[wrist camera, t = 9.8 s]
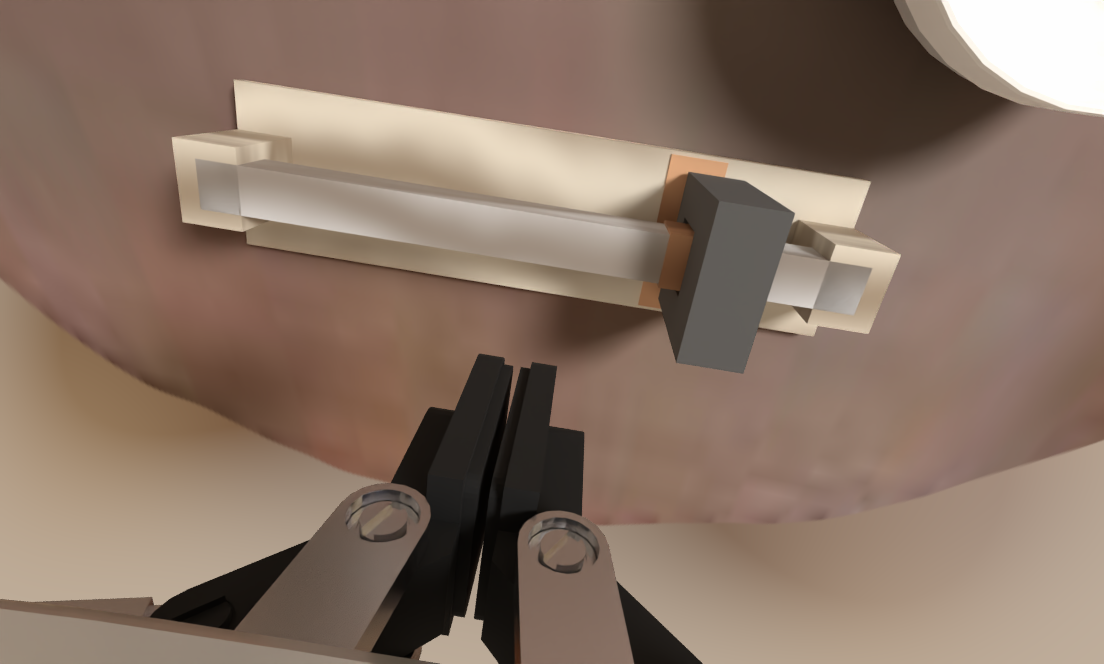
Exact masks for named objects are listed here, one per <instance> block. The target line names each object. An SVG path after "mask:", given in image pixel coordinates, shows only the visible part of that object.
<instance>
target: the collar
mask: <svg viewBox="0 0 1104 664" xmlns="http://www.w3.org/2000/svg"><path fill="white" fill-rule="evenodd" d="M794 216H795V213H794V212H793V211H791V210H790V209H788V208H786V207H785V206H783V205H782V204H780V203H779V202H777V201H776V200H774V199H773V198H771V197H769V196H768V195H766V194H765V193H763V192H762V191H760V190H759V189H757V188H756V187H754V186H752V185H751V184H749V183H748V182H746V181H744V180H737V179H731V178H725V177H719V176H712V175H706V174H700V173H694V172H688V176H687V180H686V184H685V188H684V193H683V197H682V201H681V205H680V209H679V214H678V218H677V222H679V223H686V224H689V225H690V226H691V228H692V229H693V231H694V232H695V233H694V237H693V241H692V245H691V249H690V253H689V257H688V261H687V265H686V269H685V272H684V276H683V280H682V284H681V288H680V291H676V290H670V289H663V288H661V289H660V293H659V297H658V300H659V303H660V307H661V310H662V314H663V317H664V321H665V324H666V328H667V331H668V335H669V339H670V342H671V346H672V349H673V353H674V356H675V360H676V363H682V364H688V365H694V366H700V367H706V368H712V369H718V370H724V371H730V372H736V373H742V374H743V373H744V370H745V367H746V364H747V360H748V357H749V354H750V351H751V348H752V345H753V342H754V339H755V336H756V333H757V330H758V327H759V323H760V320H761V317H762V314H763V311H764V308H765V305H766V302H767V299H768V296H769V293H770V290H771V287H772V283H773V280H774V277H775V274H776V271H777V268H778V265H779V262H780V259H781V256H782V253H783V250H784V247H785V243H786V240H787V237H788V234H789V231H790V228H791V225H792V222H793V219H794Z"/></svg>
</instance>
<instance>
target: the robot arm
mask: <svg viewBox="0 0 1104 664" xmlns="http://www.w3.org/2000/svg"><path fill="white" fill-rule="evenodd" d="M504 362H505V358H503V357H497V356H490V355H484V354H479V355H478V357H477V359H476V361H475V364H474V366H473V368H472V371H471V373H470V376H469V378H468V380H467V383H466V385H465V387H464V390H463V392H462V395H461V397H460V399H459V402H458V404H457V406H456V409H455V411H453V410H447V409H441V408H435V407H430V408H429V409H428V411H427V412H426V414H425V416H424V418H423V420H422V422H421V424H420V426H419V428H418V430H417V432H416V434H415V436H414V438H413V440H412V442H411V444H410V446H409V448H408V450H407V452H406V454H405V456H404V458H403V460H402V462H401V464H400V466H399V468H398V470H397V472H396V474H395V476H394V478H393V480H392V482H391V483H385V484H375V485H371V486H368V487H364V488H362V489H360V490H358V491H356V492H354V493H352V494H350V495H349V496H348V497H347V498H346V499H345V500H344V501H342V502H341V504H340V505H339V506H338V507H337V508H336V510H335V511H334V512H333V513H332V514H331V516H330V517H329V518H328V519H327V520H326V521H325V523H324V524H323V525H322V526H321V527H320V528H319V530H318V531H317V532H316V533H315V534H314V536H313V537H312V538H311V539H310V540H308V541H306V542H303V543H301V544H298V545H296V546H294V547H291V548H288V549H286V550H284V551H281V552H279V553H276V554H274V555H271V556H269V557H266V558H264V559H261V560H259V561H257V562H254V563H252V564H249V565H247V566H244V567H242V568H239V569H237V570H235V571H232V572H230V573H227V574H225V575H222V576H220V577H217V578H215V579H212V580H210V581H207V582H205V583H203V584H200V585H198V586H195V587H193V588H190V589H188V590H186V591H185V592H182V593H180V594H179V595H176V596H174V597H172V598H171V599H169V600H168V601H167V602H165V603H164V604H163V605H154V603H153V599H152V597H145V598H121V599H98V600H97V599H96V600H71V601H46V602H24V601H14V600H5V599H0V664H438V663H432V662H426V661H420V660H419V658H420V655H421V651H422V646H423V645H424V644H426V643H427V642H429V641H431V640H432V639H434V638H436V637H438V636H439V635H441V634H442V635H447V636H448V635H449V632H450V628H451V624H452V621H453V617H454V616H459V617H465V614H466V611H467V606H468V603H469V599H470V594H471V590H472V586H473V582H474V578H475V574H476V569H477V566H478V561H479V557H480V553H481V549H482V545H483V550H482V558H481V566H480V574H479V583H478V590H477V598H476V606H475V614H474V619H477V620H483V629H482V637H481V640H482V641H483V643H484V644H485V645H486V647H487V648H488V649H489V651H490V652H491V653H492V655H493V656H494V657H495V659H496V660H497V662H498V664H702V662H701V661H699V660H698V659H697V658H696V657H695V656H694V655H693V654H692V653H691V652H690V651H689V650H688V649H687V648H686V647H685V646H684V645H683V644H682V643H681V642H680V641H679V640H677V638H675V637H674V636H673V635H672V634H671V633H670V632H669V631H668V630H667V629H666V628H665V627H664V626H663V625H662V624H661V623H660V622H659V621H658V620H657V619H656V618H655V617H654V616H653V615H652V614H650V613H649V612H648V611H647V610H646V609H645V608H644V607H643V606H642V605H641V604H640V603H639V602H638V601H637V600H636V599H635V598H634V597H633V596H632V595H631V594H630V593H628V591H626V590H625V589H624V588H623V587H622V586H621V585H620V584H619V583H618V582H617V581H616V577H615V572H614V568H613V563H612V559H611V554H610V549H609V545H608V543H607V540H606V538H605V535H604V534H603V533H602V532H601V530H600V529H599V528H598V527H597V526H596V525H595V524H593V523H592V522H591V521H589V520H588V519H586V518H585V517H582V492H583V462H584V432H582V431H576V430H570V429H564V428H558V427H552V426H549V422H550V415H551V408H552V400H553V393H554V385H555V378H556V370H557V366H552V365H546V364H540V363H534V362H532V365H531V369H529V368H523V367H521V369H520V373H519V377H518V381H517V385H516V388H515V392H514V396H513V400H512V404H511V408H510V412H509V416H508V419H507V413H508V405H509V397H510V390H511V382H512V374H513V366H510V365H504ZM506 420H507V423H506ZM483 541H484V542H483Z"/></svg>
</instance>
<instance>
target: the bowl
mask: <svg viewBox="0 0 1104 664" xmlns="http://www.w3.org/2000/svg"><path fill="white" fill-rule="evenodd" d="M894 3H895V5H896V7H897V9H898V11H899V13H900V15H901V17H902V19H903V21H904V23H905V25H906V26H907V27H908V29H909V30H910V31H911V32H912V34H913V35H914V36H915V37H916V38H917V40H918V41H919V42H920V43H921V44H922V46H923V47H924V48H925V49H926V50H927V52H928V53H929V54H930V55H932V56H933V57H934V58H936V59H937V60H938V61H940V62H941V63H943V64H944V65H945V66H947V67H948V68H950V69H951V70H952V71H954V72H955V73H957V74H958V75H959V76H961V77H963V78H965V79H967V80H969V81H970V82H972V83H974V84H975V85H977V86H978V87H979V88H981V89H983V90H986V91H988V92H991V93H993V94H996V95H998V96H1001V97H1003V98H1006V99H1009V100H1011V101H1014V102H1016V103H1019V104H1022V105H1027V106H1033V107H1039V108H1045V109H1050V110H1056V111H1062V112H1069V113H1076V114H1083V115H1090V116H1097V117H1104V0H894Z"/></svg>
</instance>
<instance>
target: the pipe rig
mask: <svg viewBox="0 0 1104 664" xmlns="http://www.w3.org/2000/svg"><path fill="white" fill-rule="evenodd" d="M234 90H235V102H236V115H237V127H238V129H236V130H227V131H219V132H211V133H203V134H195V135H186V136H178V137H172V143H173V151H174V158H175V166H176V174H177V182H178V190H179V198H180V206H181V213H182V221H183V222H185V223H191V224H197V225H204V226H210V227H216V228H222V229H228V230H234V231H240V232H243V231H246V238H247V244H251V245H257V246H263V247H269V248H275V249H281V250H287V251H294V252H300V253H306V254H312V255H318V256H324V257H330V258H336V259H343V260H349V261H355V262H361V263H367V264H373V265H379V266H385V267H392V268H398V269H404V270H410V271H416V272H422V273H428V274H435V275H441V276H447V277H453V278H459V279H465V280H471V281H477V282H484V283H490V284H496V285H502V286H508V287H514V288H520V289H526V290H533V291H539V292H545V293H551V294H557V295H563V296H569V297H575V298H582V299H588V300H594V301H600V302H606V303H612V304H618V305H625V306H631V307H637V308H643V309H649V310H655V311H661V312H662V310H661V307H660V303H659V300H658V297H659V293H660V289H661V288H663V289H670V290H676V291H680V288H681V284H682V280H683V276H684V272H685V269H686V265H687V261H688V257H689V253H690V249H691V245H692V241H693V237H694V233H695V232H694V231H693V229H692V228H691V226H690V225H689V224H686V223H679V222H677V218H678V214H679V209H680V205H681V201H682V197H683V193H684V188H685V184H686V180H687V176H688V172H694V173H700V174H706V175H712V176H719V177H725V178H731V179H737V180H744V181H746V182H748V183H749V184H751V185H752V186H754V187H756V188H757V189H759V190H760V191H762V192H763V193H765V194H766V195H768V196H769V197H771V198H773V199H774V200H776V201H777V202H779V203H780V204H782V205H783V206H785V207H786V208H788V209H790V210H791V211H793V212H794V213H795V216H794V219H793V222H792V225H791V228H790V231H789V234H788V237H787V240H786V243H785V247H784V250H783V253H782V256H781V259H780V262H779V265H778V268H777V271H776V274H775V277H774V280H773V283H772V287H771V290H770V293H769V296H768V299H767V302H766V305H765V308H764V311H763V314H762V317H761V320H760V323H759V328H765V329H772V330H778V331H784V332H790V333H796V334H802V335H808V336H814V334H815V331H816V328H817V326H823V327H829V328H836V329H842V330H848V331H854V332H860V333H866V334H868V333H869V331H870V329H871V326H872V324H873V321H874V319H875V317H876V314H877V312H878V309H879V307H880V305H881V302H882V300H883V297H884V295H885V293H886V290H887V288H888V285H889V283H890V280H891V278H892V276H893V273H894V271H895V268H896V266H897V264H898V261H899V259H900V256H901V255H900V254H898V253H896V252H895V251H893V250H891V249H889V248H888V247H886V246H884V245H882V244H880V243H879V242H877V241H875V240H873V239H871V238H870V237H868V236H866V235H864V234H863V233H861V232H859V231H857V230H855V229H854V226H855V224H856V221H857V218H858V216H859V213H860V210H861V208H862V205H863V202H864V199H865V197H866V194H867V191H868V189H869V186H870V183H871V182H870V181H867V180H864V179H860V178H853V177H847V176H841V175H835V174H829V173H822V172H816V171H810V170H804V169H797V168H791V167H785V166H779V165H772V164H766V163H760V162H754V161H747V160H741V159H735V158H729V157H722V156H716V155H710V154H704V153H698V152H691V151H685V150H679V149H673V148H666V147H660V146H654V145H648V144H641V143H635V142H629V141H623V140H616V139H610V138H604V137H598V136H591V135H585V134H579V133H573V132H567V131H560V130H554V129H548V128H542V127H535V126H529V125H523V124H517V123H510V122H504V121H498V120H492V119H485V118H479V117H473V116H467V115H460V114H454V113H448V112H442V111H436V110H429V109H423V108H417V107H411V106H404V105H398V104H392V103H386V102H379V101H373V100H367V99H361V98H354V97H348V96H342V95H336V94H329V93H323V92H317V91H311V90H305V89H298V88H292V87H286V86H280V85H273V84H267V83H261V82H255V81H248V80H234Z"/></svg>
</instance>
